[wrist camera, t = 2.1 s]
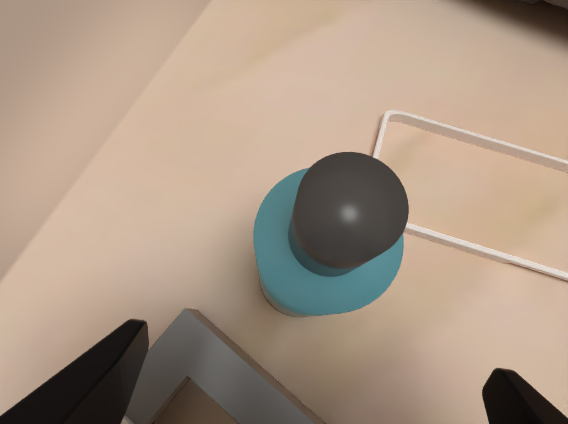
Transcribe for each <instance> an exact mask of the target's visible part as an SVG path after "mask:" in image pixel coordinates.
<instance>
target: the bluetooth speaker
mask: <svg viewBox="0 0 568 424" xmlns="http://www.w3.org/2000/svg"><path fill="white" fill-rule="evenodd" d="M516 1H520V2H524V3H528V4H535V3H537V2H538V1H540V0H516ZM543 1H546V2H548V3H551V4H553V5H556V6H558V5H559V6H561V7H564V8H566V9H568V0H543Z"/></svg>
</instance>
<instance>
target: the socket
mask: <svg viewBox="0 0 568 424" xmlns="http://www.w3.org/2000/svg"><path fill="white" fill-rule="evenodd" d="M189 379H191V380H192V381H193V382H194V383H195V384H197V385H198V386H199V387H200V388H201V389H202V390H203V391H204V392H205V393H206V394H207V395H208V396H209V397H211V398H212V399H213V400H214V401H215V402H216V403H217V404H218V405H219V406H220V407H221V408H222V409H223V410H225V411H226V412H227V413H228V414H229V415H230V416H231V417H232V418H233V419H234V420H235V421H236V422H237V423H239V424H325V423H324V422H323V421H322V420H321V419H320V418H318V417H317V416H316V415H315V414H314V413H313V412H312V411H311V410H309V409H308V408H307V407H306V406H305V405H304V404H303V403H302V402H300V401H299V400H298V399H297V398H296V397H295V396H294V395H293V394H291V393H290V392H289V391H288V390H287V389H286V388H285V387H284V386H282V385H281V384H280V383H279V382H278V381H277V380H276V379H274V378H273V377H272V376H271V375H270V374H269V373H268V372H267V371H265V370H264V369H263V368H262V367H261V366H260V365H259V364H258V363H256V362H255V361H254V360H253V359H252V358H251V357H250V356H249V355H247V354H246V353H245V352H244V351H243V350H242V349H241V348H240V347H238V346H237V345H236V344H235V343H234V342H233V341H232V340H231V339H229V338H228V337H227V336H226V335H225V334H224V333H223V332H221V331H220V330H219V329H218V328H217V327H216V326H215V325H214V324H212V323H211V322H210V321H209V320H208V319H207V318H206V317H205V316H203V315H202V314H201V313H200V312H199V311H198V310H193V309H187V308H185V309H184V310H183V311H182V313H181V314H180V315H179V316H178V317H177V318H176V319H175V321H174V322H173V323H172V324H171V325H170V326H169V327H168V329H167V330H166V331H165V332H164V333H163V334H162V335H161V337H160V338H159V339H158V340H157V341H156V342H155V343H154V345H153V346H152V347H151V348H150V349H149V350H148V351H147V354H146V357H145V360H144V363H143V366H142V369H141V371H140V374H139V377H138V380H137V383H136V386H135V389H134V391H133V394H132V397H131V400H130V403H129V405H128V408H127V411H126V413H125V416H124V418H123V420H122V422H121V424H153V423H154V421H155V420H156V419H157V418H158V417H159V415H160V414H161V413H162V412H163V411H164V409H165V408H166V407H167V406H168V404H169V403H170V402H171V401H172V400H173V398H174V397H175V396H176V395H177V393H178V392H179V391H180V390H181V389H182V387H183V386H184V385H185V384H186V382H187V381H188V380H189Z"/></svg>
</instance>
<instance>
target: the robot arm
mask: <svg viewBox="0 0 568 424" xmlns="http://www.w3.org/2000/svg"><path fill="white" fill-rule="evenodd" d="M148 347H149V338H148V326H147V322H146V321H144V320H138V319H130V320H128V321H126V322H125V323H123V324H122V325H121V326H119V327H118V328H117V329H116V330H114V331H113V332H112V333H110V334H109V335H108V336H106V337H105V338H104V339H102V340H101V341H100V342H98V343H97V344H96V345H94V346H93V347H92V348H90V349H89V350H88V351H86V352H85V353H84V354H82V355H81V356H80V357H78V358H77V359H76V360H74V361H73V362H72V363H70V364H69V365H68V366H66V367H65V368H64V369H62V370H61V371H60V372H58V373H57V374H56V375H54V376H53V377H52V378H50V379H49V380H48V381H46V382H45V383H44V384H42V385H41V386H40V387H38V388H37V389H36V390H34V391H33V392H32V393H30V394H29V395H28V396H26V397H25V398H24V399H22V400H21V401H20V402H18V403H17V404H16V405H14V406H13V407H12V408H10V409H9V410H8V411H6V412H5V413H4V414H2V415H1V416H0V424H121V422H122V420H123V418H124V416H125V413H126V411H127V408H128V405H129V403H130V400H131V397H132V394H133V391H134V389H135V386H136V383H137V380H138V377H139V374H140V371H141V369H142V366H143V363H144V360H145V357H146V354H147V351H148ZM482 396H483V401H484V405H485V409H486V413H487V417H488V421H489V424H568V418H567V417H566V416H565V415H564V414H562V413H561V412H560V411H559V410H558V409H557V408H556V407H555V406H553V405H552V404H551V403H550V402H549V401H548V400H547V399H546V398H544V397H543V396H542V395H541V394H540V393H539V392H538V391H537V390H535V389H534V388H533V387H532V386H531V385H530V384H529V383H528V382H526V381H525V380H524V379H523V378H522V377H521V376H520V375H519V374H517V373H516V372H515V371H513V370H510V369H503V368H496V369H494V370H493V372H492V373H491V375H490V377H489V378H488V380H487V382H486V383H485V385H484V387H483V390H482Z"/></svg>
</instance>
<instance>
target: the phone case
mask: <svg viewBox="0 0 568 424" xmlns="http://www.w3.org/2000/svg"><path fill="white" fill-rule="evenodd" d="M392 121H393V122H400V123H403V124H407V125H410V126H413V127H417V128H420V129H423V130H427V131H430V132H433V133H437V134H440V135H443V136H447V137H450V138H453V139H457V140H460V141H463V142H467V143H470V144H473V145H477V146H480V147H483V148H487V149H490V150H493V151H497V152H500V153H503V154H507V155H510V156H513V157H517V158H520V159H523V160H527V161H530V162H533V163H536V164H540V165H543V166H546V167H550V168H553V169H556V170H560V171H563V172H566V173H568V161H567V160H564V159H561V158H557V157H554V156H551V155H547V154H544V153H541V152H537V151H534V150H531V149H527V148H524V147H521V146H517V145H514V144H511V143H507V142H504V141H501V140H497V139H494V138H491V137H487V136H484V135H481V134H477V133H474V132H471V131H467V130H464V129H461V128H457V127H454V126H451V125H447V124H444V123H441V122H437V121H434V120H431V119H427V118H424V117H421V116H417V115H414V114H410V113H407V112H404V111H400V110H388V111H386V112H385V113H384V115H383V117H382V119H381V121H380V124H379V128H378V131H379V134H378V137H377V141H376V145H375V149H374V152H373V156H372V157H373V158H376V159H378V156H379V152H380V148H381V145H382V141H383V137H384V133H385V129H386V125H387V122H392ZM404 232H405V233H409V234H412V235H415V236H418V237H421V238H424V239H428V240H431V241H434V242H437V243H440V244H444V245H447V246H450V247H453V248H456V249H459V250H463V251H466V252H469V253H472V254H475V255H479V256H482V257H485V258H488V259H491V260H494V261H498V262H501V263H508V262H510V263H513V264H516V265H519V266H522V267H526V268H529V269H532V270H535V271H538V272H541V273H545V274H548V275H551V276H554V277H557V278H561V279H564V280H567V281H568V273H566V272H563V271H560V270H557V269H554V268H550V267H547V266H544V265H541V264H538V263H535V262H531V261H528V260H525V259H522V258H519V257H515V256H512V255H509V254H506V253H503V252H499V251H496V250H493V249H490V248H487V247H483V246H480V245H477V244H474V243H471V242H468V241H464V240H461V239H458V238H455V237H452V236H448V235H445V234H442V233H439V232H436V231H432V230H429V229H426V228H423V227H420V226H417V225H413V224H410V223H407V224H406V227H405V229H404Z"/></svg>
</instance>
